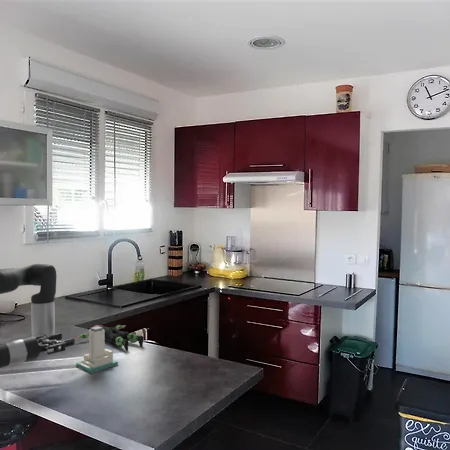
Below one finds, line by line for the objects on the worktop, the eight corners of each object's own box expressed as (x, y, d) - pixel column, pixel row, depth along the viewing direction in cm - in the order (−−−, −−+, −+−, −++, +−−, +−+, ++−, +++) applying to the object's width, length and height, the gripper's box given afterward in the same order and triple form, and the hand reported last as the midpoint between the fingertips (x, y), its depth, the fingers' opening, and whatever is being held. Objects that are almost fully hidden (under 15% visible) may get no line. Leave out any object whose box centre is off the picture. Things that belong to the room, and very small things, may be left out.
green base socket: (76, 366, 163) (76, 352, 162) (102, 358, 171) (102, 345, 171) (91, 373, 156) (91, 358, 156) (117, 364, 164) (117, 350, 164)
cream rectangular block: (87, 362, 163) (87, 328, 162) (98, 359, 166) (98, 325, 166) (93, 365, 160) (93, 330, 160) (104, 362, 164) (104, 327, 163)
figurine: (158, 342, 192) (118, 331, 212) (158, 327, 192) (117, 318, 212) (107, 357, 173) (68, 343, 193) (107, 341, 173) (67, 329, 193)
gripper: (11, 356, 147) (57, 344, 159) (30, 368, 138) (78, 354, 150) (10, 334, 147) (57, 324, 159) (30, 344, 137) (78, 332, 149)
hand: (67, 338), depth 154 cm, fingers open, 8 cm apart
